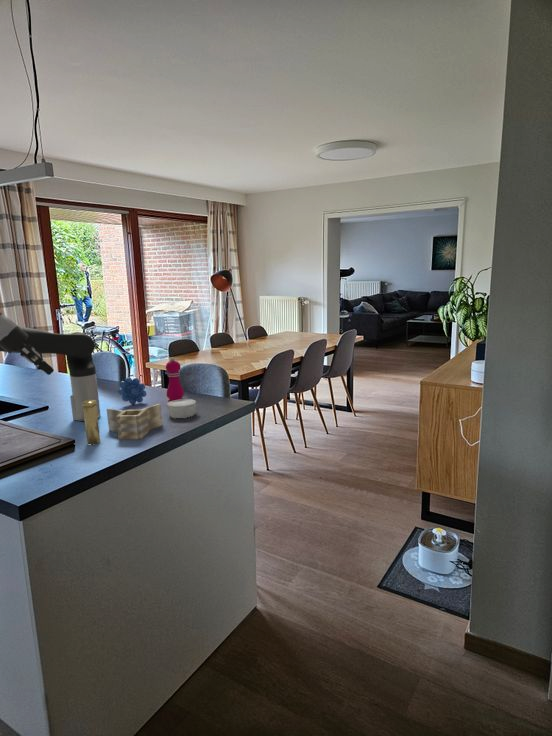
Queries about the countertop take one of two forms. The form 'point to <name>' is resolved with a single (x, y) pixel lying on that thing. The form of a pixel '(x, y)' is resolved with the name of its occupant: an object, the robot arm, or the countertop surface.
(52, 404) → the countertop surface
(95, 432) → the brass peg
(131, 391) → the grapes
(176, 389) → the pepper mill
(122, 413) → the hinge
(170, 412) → the ramekin
